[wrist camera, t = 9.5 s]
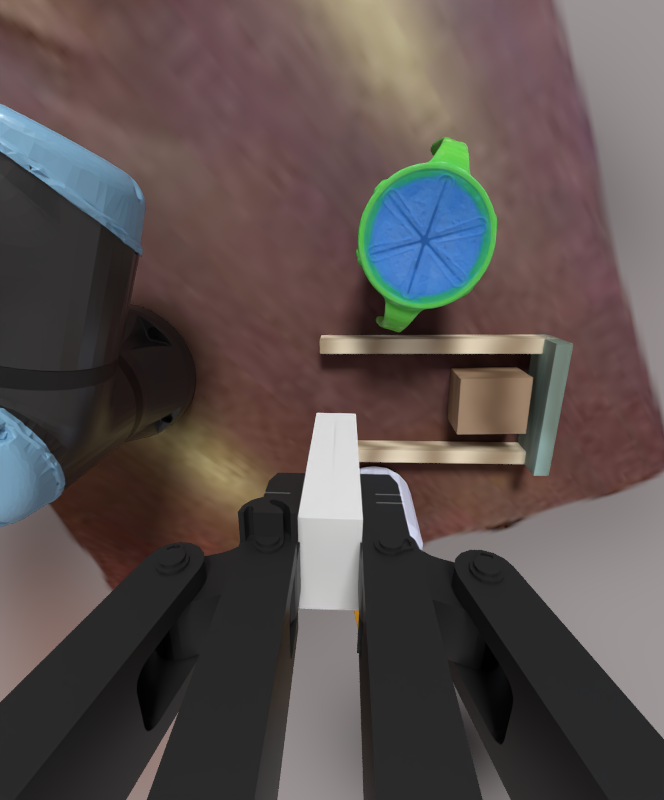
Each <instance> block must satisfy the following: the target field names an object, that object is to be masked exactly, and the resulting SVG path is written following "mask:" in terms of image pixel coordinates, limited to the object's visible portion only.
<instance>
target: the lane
mask: <svg viewBox="0 0 664 800" xmlns="http://www.w3.org/2000/svg"><path fill="white" fill-rule="evenodd" d="M572 348H573V344H572V343H570V342H567V341H564V340H562V339H559V338H556V337H554V336H551V335H322V336H321V338H320V354H531V358H530V365H529V371H528V375H530V376H531V377H533V384H532V391H531V399H530V406H529V414H528V421H527V429H526V434H519V436H518V442H450V441H363V440H358V455H359V462H407V463H477V464H525V466H526V467H527V468H528V469H529V470H530V472H531V473H532V474H533V475H534V476H548V475H549V470H550V465H551V459H552V454H553V449H554V443H555V438H556V433H557V428H558V422H559V417H560V412H561V406H562V401H563V396H564V390H565V385H566V380H567V375H568V369H569V364H570V359H571V353H572Z"/></svg>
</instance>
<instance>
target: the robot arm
mask: <svg viewBox="0 0 664 800" xmlns="http://www.w3.org/2000/svg"><path fill="white" fill-rule="evenodd" d="M144 215H145V199H144V195H143V193H142V191H141V189H140V187H139V186H138V184H137V183H136V182H135V181H134V179H133V178H132V177H130V176H129V175H128V174H127V173H125V172H124V171H122V170H121V169H119V168H118V167H116V166H114V165H113V164H111V163H109V162H108V161H106V160H104V159H103V158H101V157H99V156H98V155H96V154H94V153H92V152H91V151H89V150H87V149H85V148H84V147H82V146H80V145H78V144H76V143H75V142H73V141H71V140H69V139H67V138H65V137H64V136H62V135H60V134H58V133H56V132H54V131H52V130H51V129H49V128H47V127H45V126H43V125H41V124H39V123H37V122H35V121H34V120H32V119H30V118H28V117H26V116H24V115H22V114H20V113H18V112H16V111H14V110H12V109H10V108H8V107H6V106H4V105H1V104H0V527H2V526H6V525H8V524H13V523H15V522H17V521H20V520H22V519H24V518H26V517H27V516H29V515H30V514H32V513H33V512H35V511H37V510H38V509H40V508H41V507H43V506H44V505H46V504H49V503H51V502H53V501H55V500H56V499H57V498H58V497H59V496H60V495H61V493H62V492H63V491H64V490H65V489H66V488H67V487H69V486H70V485H71V484H72V483H74V482H75V481H76V480H77V479H79V478H80V477H81V476H82V475H84V474H85V473H86V472H87V471H89V470H90V469H91V468H92V467H94V466H95V465H96V464H97V463H99V462H100V461H101V460H102V459H104V458H105V457H106V456H107V455H109V454H110V453H111V452H112V451H114V450H115V449H116V448H117V447H119V446H120V445H121V444H122V443H124V442H126V441H131V440H136V439H140V438H145V437H149V436H152V435H155V434H157V433H159V432H161V431H163V430H165V429H166V428H168V427H169V426H171V425H172V424H173V423H174V422H175V421H176V420H177V419H179V418H180V417H181V416H182V415H183V413H184V412H185V411H186V410H187V408H188V406H189V405H190V403H191V400H192V398H193V395H194V391H195V383H196V375H195V367H194V363H193V359H192V356H191V354H190V351H189V349H188V347H187V345H186V343H185V342H184V340H183V339H182V337H181V336H180V335H179V333H178V332H177V331H176V330H175V329H174V328H173V327H172V326H171V325H170V324H169V323H168V322H167V321H165V320H164V319H163V318H161V317H160V316H158V315H157V314H155V313H153V312H151V311H149V310H147V309H145V308H142V307H139V306H136V305H131V304H130V301H131V296H132V291H133V285H134V280H135V275H136V270H137V265H138V260H139V256H142V253H143V250H142V247H141V246H140V245H141V237H142V230H143V222H144ZM238 519H239V531H240V544H239V546H238V547H236V548H234V549H232V550H230V551H227V552H223V553H219V554H214V555H209V556H204V552H203V551H202V550H201V548H200V547H199V546H197V545H194V544H192V543H183V542H179V543H174V544H169V545H166V546H164V547H161V548H159V549H157V550H155V551H154V552H153V553H151V554H150V555H149V556H147V557H146V558H145V559H144V560H143V561H142V562H141V563H140V564H139V565H138V566H137V567H136V568H135V569H134V570H133V571H132V572H131V573H130V574H129V575H128V576H127V577H126V578H125V579H124V580H123V581H122V582H121V583H120V584H119V585H118V586H117V587H116V588H115V589H114V590H113V591H112V592H111V593H110V594H109V595H108V596H107V597H106V598H105V599H104V600H103V601H102V602H101V603H100V604H99V605H98V606H97V607H96V608H95V609H94V610H93V611H92V612H91V613H90V614H89V615H88V616H87V617H86V618H85V619H84V620H83V621H82V622H81V623H80V624H79V625H78V626H77V627H76V628H75V629H74V630H73V631H72V632H71V633H70V634H69V635H68V636H67V637H66V638H65V639H64V640H63V641H62V642H61V643H60V644H59V645H58V646H57V647H56V648H55V649H54V650H53V651H52V652H51V653H50V654H49V655H48V656H47V657H46V658H45V659H44V660H43V661H42V662H41V663H40V664H39V665H37V667H35V668H34V669H33V671H31V673H29V674H28V675H27V676H26V677H25V678H24V679H23V680H22V681H21V682H20V683H19V684H18V685H17V686H16V687H15V688H14V689H13V690H12V691H11V692H10V693H9V694H8V695H7V696H6V697H5V698H4V699H3V700H2V701H1V702H0V800H126V799H127V797H128V796H129V794H130V792H131V790H132V789H133V787H134V785H135V784H136V782H137V780H138V778H139V777H140V775H141V774H142V772H143V770H144V769H145V767H146V765H147V763H148V762H149V760H150V759H151V757H152V755H153V754H154V752H155V750H156V749H157V747H158V745H159V743H160V742H161V740H162V738H163V737H164V735H165V733H166V732H167V730H168V728H169V726H170V725H171V723H172V721H173V720H174V718H175V716H176V715H177V713H178V715H177V718H176V721H175V724H174V726H173V729H172V732H171V734H170V737H169V740H168V743H167V745H166V748H165V751H164V754H163V756H162V759H161V762H160V765H159V768H158V771H157V773H156V776H155V779H154V781H153V784H152V787H151V790H150V792H149V795H148V798H147V800H277V797H278V789H279V780H280V772H281V764H282V756H283V748H284V740H285V732H286V723H287V715H288V707H289V699H290V690H291V682H292V674H293V666H294V658H295V650H296V642H297V633H298V607H299V605H300V609H325V610H326V609H327V610H354V611H359V622H358V644H357V653H359V671H360V699H361V700H360V701H361V732H362V760H363V761H362V762H363V793H364V800H482V796H481V792H480V788H479V784H478V780H477V776H476V772H475V768H474V764H473V760H472V757H471V752H470V748H469V744H468V740H467V736H466V732H465V728H464V724H463V720H462V716H461V712H460V708H459V704H458V700H457V696H456V693H455V688H454V685H455V687H456V689H457V691H458V693H459V695H460V697H461V699H462V701H463V703H464V705H465V708H466V709H467V711H468V714H469V716H470V718H471V719H472V722H473V724H474V726H475V728H476V730H477V732H478V734H479V736H480V738H481V740H482V742H483V744H484V746H485V748H486V750H487V752H488V754H489V756H490V758H491V760H492V762H493V764H494V766H495V768H496V770H497V772H498V775H499V777H500V779H501V780H502V783H503V785H504V787H505V789H506V791H507V793H508V795H509V797H510V799H511V800H664V739H663V738H662V737H661V736H660V734H659V733H658V732H657V731H656V730H655V729H654V727H653V726H652V725H651V724H650V723H649V722H648V721H647V720H646V718H645V717H644V716H643V715H642V714H641V713H640V711H639V710H638V709H637V708H636V707H635V706H634V705H633V703H632V702H631V701H630V700H629V699H628V698H627V696H626V695H625V694H624V693H623V692H622V691H621V690H620V688H619V687H618V686H617V685H616V684H615V683H614V682H613V680H612V679H611V678H610V677H609V676H608V675H607V673H606V672H605V671H604V670H603V669H602V668H601V667H600V665H599V664H598V663H597V662H596V661H595V660H594V659H593V657H592V656H591V655H590V654H589V653H588V652H587V650H586V649H585V648H584V647H583V646H582V645H581V644H580V642H579V641H578V640H577V639H576V638H575V637H574V636H573V635H572V633H571V632H570V631H569V630H568V629H567V627H566V626H565V625H564V624H563V623H562V622H561V621H560V620H559V618H558V617H557V616H556V615H555V614H554V613H553V611H552V610H551V609H550V608H549V607H548V606H547V605H546V603H545V602H544V601H543V600H542V599H541V598H540V596H539V595H538V594H537V593H536V592H535V591H534V590H533V588H532V587H531V586H530V585H529V584H528V583H527V582H526V580H525V579H524V578H523V577H522V576H521V575H520V574H519V572H518V571H517V570H516V569H515V568H514V567H513V566H512V565H511V564H510V563H509V562H508V561H506V560H505V559H504V558H502V557H500V556H498V555H496V554H494V553H491V552H487V551H483V550H469V551H466V552H463V553H461V554H460V555H459V556H458V557H457V558H456V559H455V563H454V562H451V561H447V560H443V559H439V558H436V557H433V556H431V555H429V554H427V553H425V552H423V551H422V550H421V549H419V546H418V544H417V542H416V540H415V539H414V538H412V537H411V536H410V533H409V529H408V525H407V520H406V516H405V512H404V508H403V504H402V499H401V496H400V491H399V486H398V483H397V482H396V481H395V480H394V479H393V478H392V477H391V476H390V475H388V474H360V469H359V455H358V440H357V426H356V414H344V413H317V414H316V419H315V425H314V431H313V436H312V442H311V447H310V453H309V458H308V464H307V469H306V473H278V474H276V475H275V476H274V477H273V478H272V479H271V480H270V481H269V483H268V485H267V488H266V493H265V494H264V497H261V498H257V499H254V500H251V501H249V502H248V503H246V504H245V505H243V506H242V507H241V509H240V510H239V511H238ZM453 683H454V685H453Z"/></svg>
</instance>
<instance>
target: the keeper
mask: <svg viewBox="0 0 664 800" xmlns="http://www.w3.org/2000/svg"><path fill="white" fill-rule="evenodd" d="M532 384H533V377H531V376H530V375H528V374H527V373H525V372H523V371H522V370H520V369H519V368H517V367H489V368H451V377H450V393H449V409H448V420H449V422H450V423H451V425H452V427H453V429H454V430H455V432H456V434H526V429H527V421H528V414H529V406H530V399H531V391H532Z"/></svg>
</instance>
